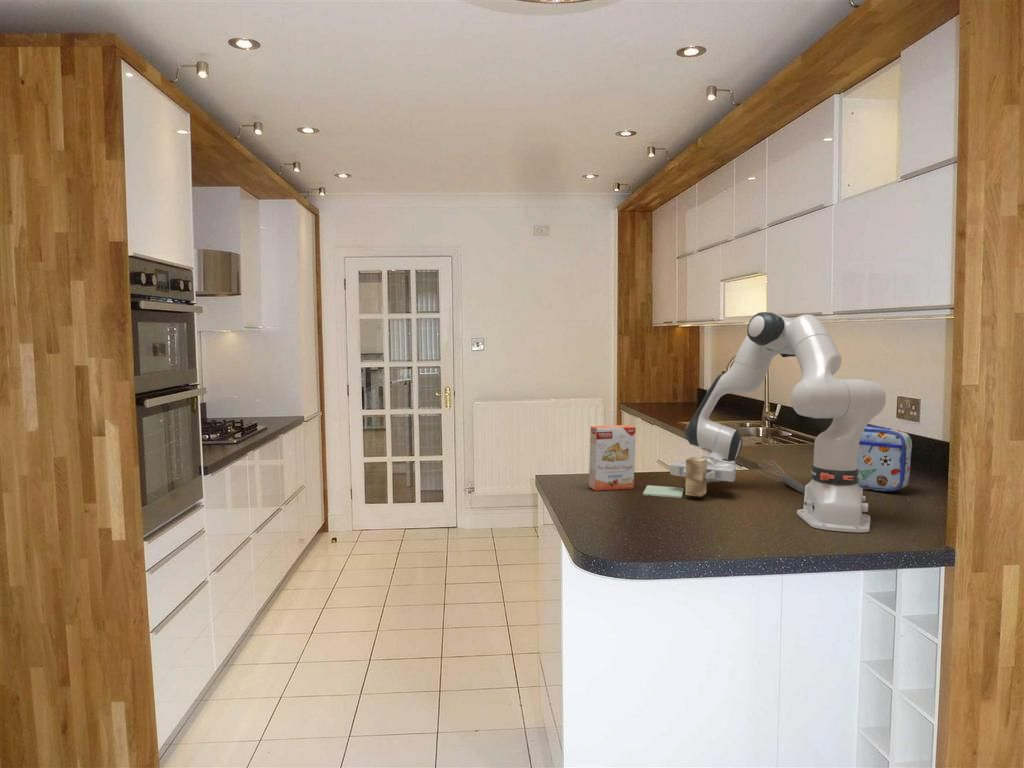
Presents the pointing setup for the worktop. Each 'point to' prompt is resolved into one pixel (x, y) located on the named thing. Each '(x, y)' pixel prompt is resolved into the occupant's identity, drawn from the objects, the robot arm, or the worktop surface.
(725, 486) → the worktop surface
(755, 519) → the worktop surface
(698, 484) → the oak pillar
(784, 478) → the kitchen whisk
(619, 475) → the cracker box
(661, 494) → the mat
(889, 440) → the lunch box
